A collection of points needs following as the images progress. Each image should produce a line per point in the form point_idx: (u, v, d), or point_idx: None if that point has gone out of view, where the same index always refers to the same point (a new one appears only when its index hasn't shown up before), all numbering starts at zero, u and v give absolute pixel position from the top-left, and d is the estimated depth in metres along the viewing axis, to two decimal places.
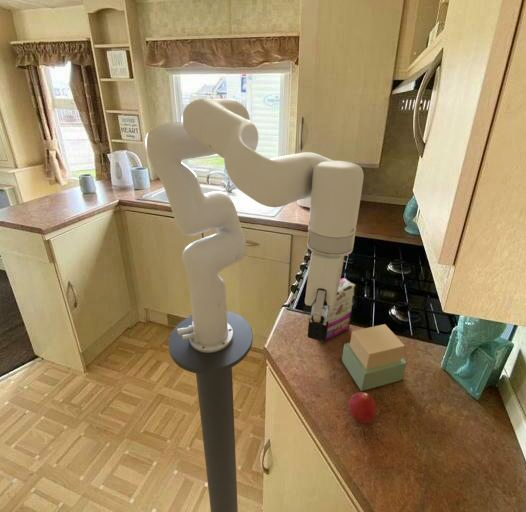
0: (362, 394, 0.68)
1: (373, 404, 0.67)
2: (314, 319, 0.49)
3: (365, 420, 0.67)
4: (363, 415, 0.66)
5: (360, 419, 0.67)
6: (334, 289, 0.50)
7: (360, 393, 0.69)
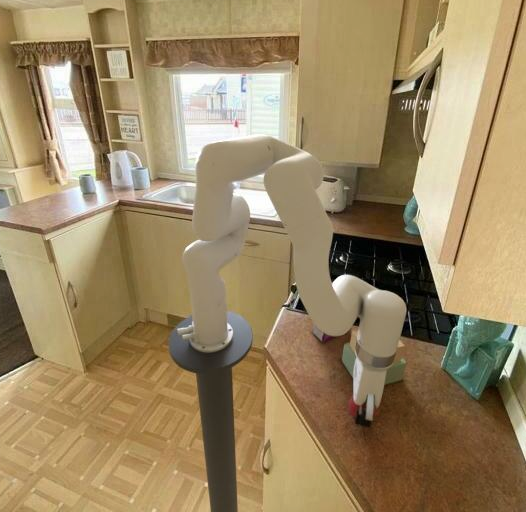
0: None
1: None
2: None
3: None
4: None
5: None
6: (381, 394, 0.60)
7: None
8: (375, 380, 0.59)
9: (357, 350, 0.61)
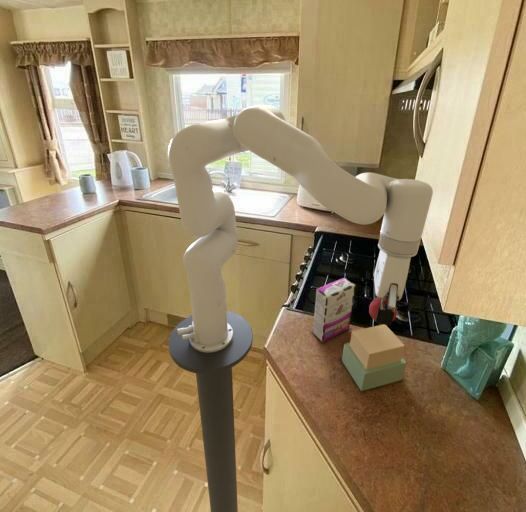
0: None
1: None
2: (388, 309, 0.62)
3: None
4: None
5: None
6: (404, 283, 0.61)
7: None
8: (399, 267, 0.60)
9: (381, 241, 0.62)
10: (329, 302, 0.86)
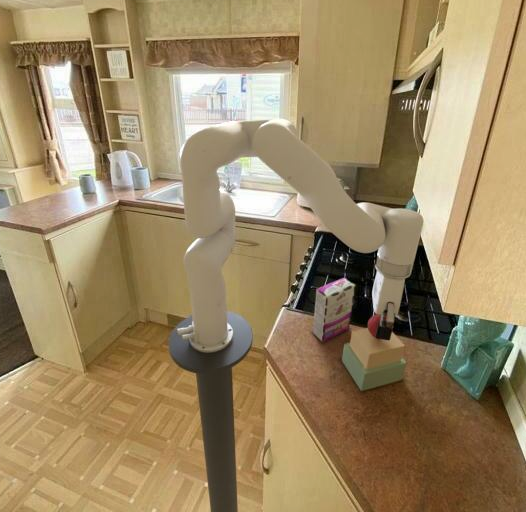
0: None
1: None
2: (387, 324, 0.67)
3: None
4: None
5: None
6: (400, 302, 0.68)
7: None
8: (395, 288, 0.66)
9: (378, 264, 0.69)
10: (329, 302, 0.86)
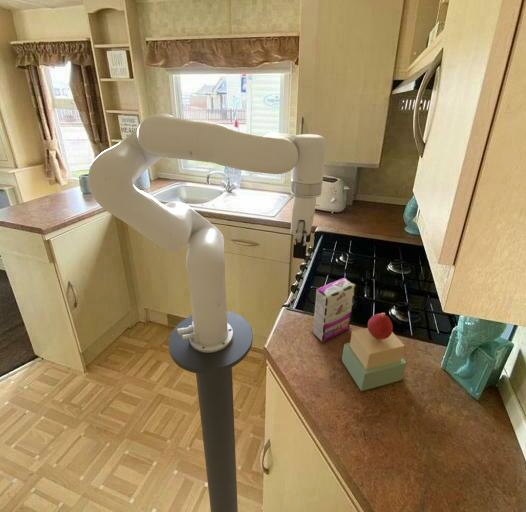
0: (380, 314, 0.76)
1: (390, 322, 0.75)
2: (297, 239, 0.74)
3: (383, 335, 0.74)
4: (381, 331, 0.74)
5: (378, 335, 0.74)
6: (309, 220, 0.75)
7: (378, 313, 0.77)
8: (303, 206, 0.73)
9: (291, 187, 0.76)
10: (329, 302, 0.86)
